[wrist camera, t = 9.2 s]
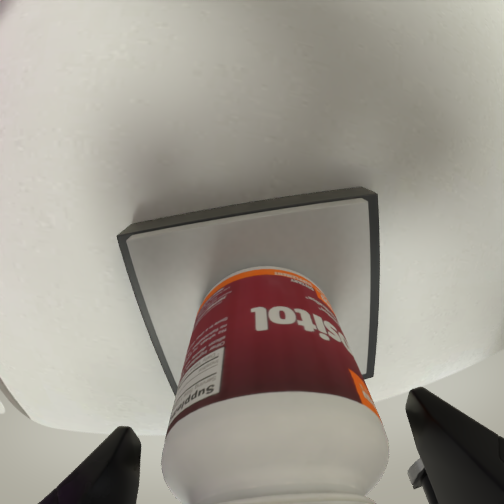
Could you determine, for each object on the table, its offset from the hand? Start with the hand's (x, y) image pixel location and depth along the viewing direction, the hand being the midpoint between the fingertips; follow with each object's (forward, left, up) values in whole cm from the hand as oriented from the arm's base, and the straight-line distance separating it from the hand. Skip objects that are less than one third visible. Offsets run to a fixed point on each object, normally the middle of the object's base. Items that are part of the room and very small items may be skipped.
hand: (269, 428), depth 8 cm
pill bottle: (0, 0, -6) cm, 6 cm away
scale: (-1, 0, -9) cm, 9 cm away
